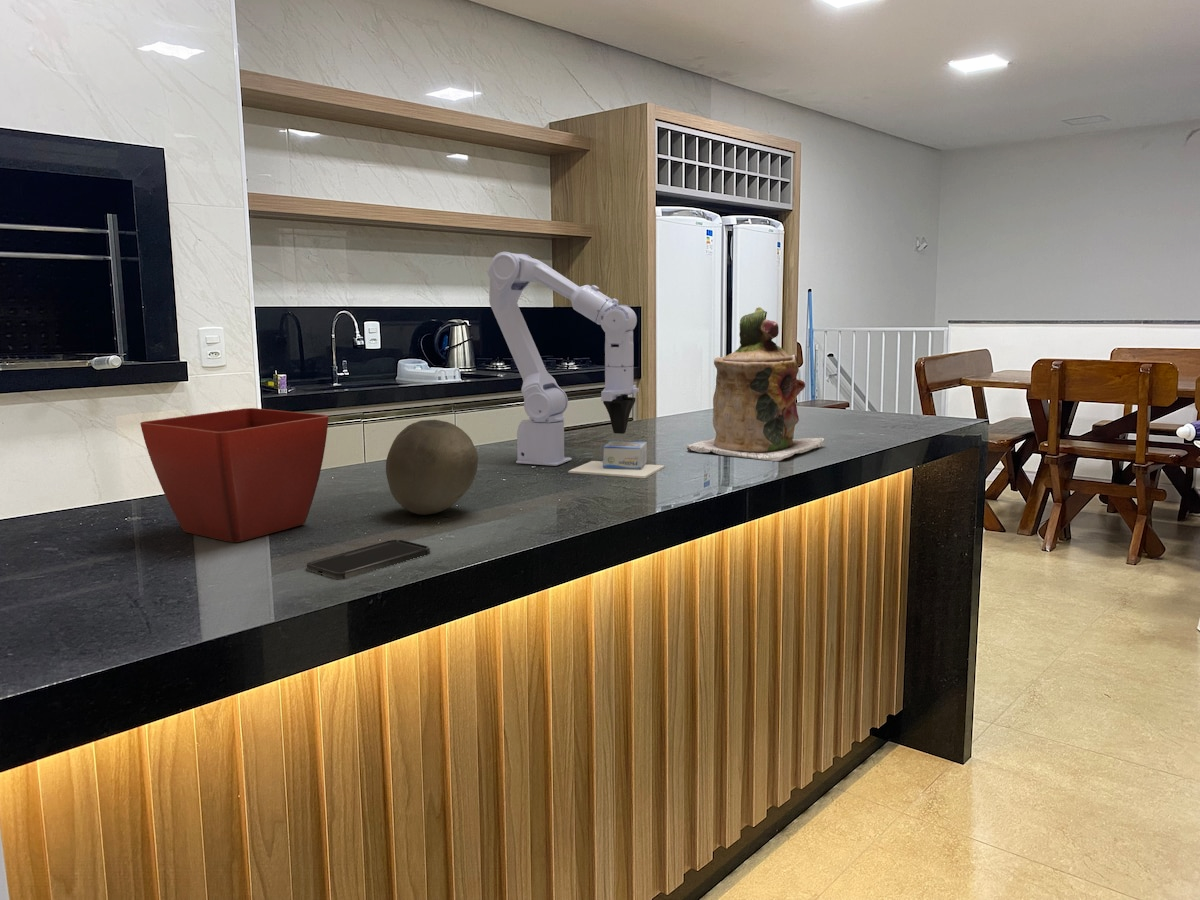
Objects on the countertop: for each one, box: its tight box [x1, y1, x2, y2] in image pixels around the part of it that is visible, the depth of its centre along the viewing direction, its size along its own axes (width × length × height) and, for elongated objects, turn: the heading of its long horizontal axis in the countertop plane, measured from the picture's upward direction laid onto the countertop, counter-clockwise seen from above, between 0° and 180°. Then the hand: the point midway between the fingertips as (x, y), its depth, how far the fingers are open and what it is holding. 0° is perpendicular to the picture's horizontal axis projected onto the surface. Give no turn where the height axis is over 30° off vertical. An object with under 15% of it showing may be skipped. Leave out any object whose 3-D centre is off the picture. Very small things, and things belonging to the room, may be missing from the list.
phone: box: [306, 539, 431, 580], centre depth 118 cm, size 8×1×15 cm
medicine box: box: [602, 440, 648, 469], centre depth 182 cm, size 8×4×9 cm
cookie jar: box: [685, 306, 825, 462], centre depth 201 cm, size 25×25×32 cm
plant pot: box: [140, 407, 329, 543], centre depth 134 cm, size 19×19×17 cm
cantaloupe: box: [385, 419, 479, 516], centre depth 143 cm, size 14×14×15 cm
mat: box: [567, 460, 666, 479], centre depth 180 cm, size 16×12×1 cm
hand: (619, 433), depth 183 cm, fingers closed
